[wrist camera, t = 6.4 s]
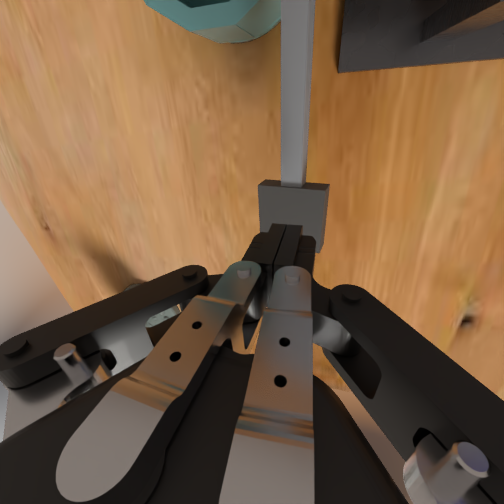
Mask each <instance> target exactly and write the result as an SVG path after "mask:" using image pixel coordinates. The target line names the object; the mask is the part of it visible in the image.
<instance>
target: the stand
mask: <svg viewBox="0 0 504 504" xmlns="http://www.w3.org/2000/svg"><path fill="white" fill-rule="evenodd" d="M494 59H504V0H345V6H344V16H343V27H342V37H341V47H340V57H339V67H338V73H346V72H358V71H369V70H380V69H392V68H403V67H414V66H426V65H437V64H449V63H460V62H471V61H483V60H494Z"/></svg>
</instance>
